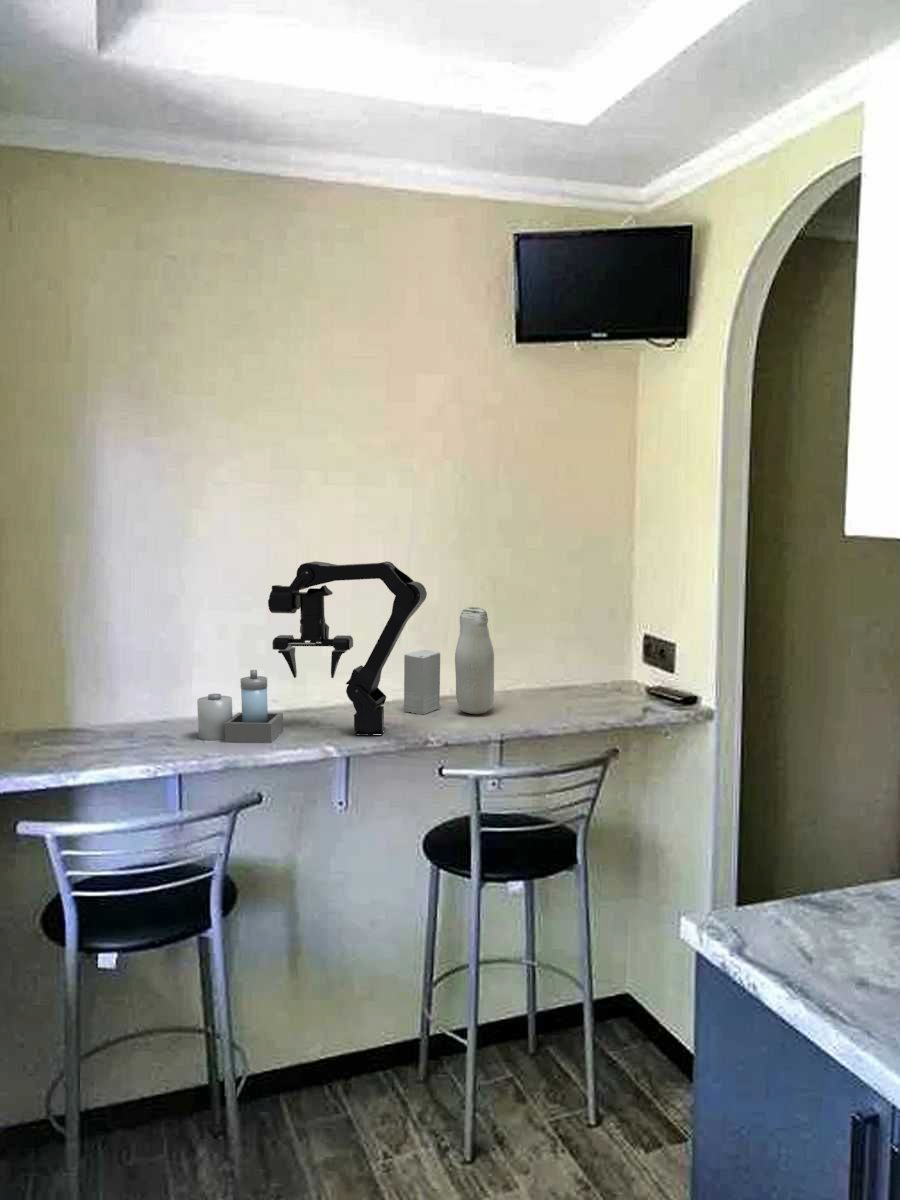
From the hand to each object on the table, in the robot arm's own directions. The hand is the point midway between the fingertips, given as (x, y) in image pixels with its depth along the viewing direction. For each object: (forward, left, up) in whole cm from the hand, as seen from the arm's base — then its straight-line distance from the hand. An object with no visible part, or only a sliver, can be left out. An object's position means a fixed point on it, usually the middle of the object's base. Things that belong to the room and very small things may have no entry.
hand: (313, 677), depth 230 cm
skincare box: (-24, -22, -13) cm, 35 cm away
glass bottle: (-38, -20, -13) cm, 45 cm away
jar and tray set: (+16, +7, -13) cm, 22 cm away
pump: (+13, +7, -12) cm, 19 cm away
